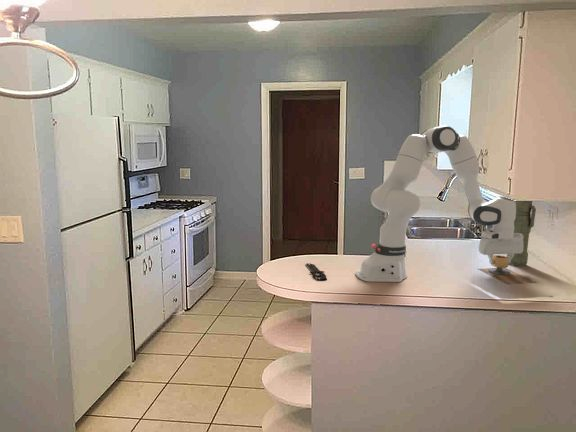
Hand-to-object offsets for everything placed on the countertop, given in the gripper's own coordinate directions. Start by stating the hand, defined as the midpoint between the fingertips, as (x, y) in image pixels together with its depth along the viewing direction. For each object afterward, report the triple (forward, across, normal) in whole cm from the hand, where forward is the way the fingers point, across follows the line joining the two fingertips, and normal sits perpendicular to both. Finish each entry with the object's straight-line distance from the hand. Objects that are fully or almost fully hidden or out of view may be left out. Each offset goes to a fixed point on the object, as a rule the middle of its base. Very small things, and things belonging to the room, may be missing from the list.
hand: (499, 263), depth 216 cm
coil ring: (+1, 0, 0) cm, 1 cm away
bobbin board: (+6, 0, +5) cm, 8 cm away
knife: (+6, +81, -18) cm, 83 cm away
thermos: (+6, -17, -11) cm, 21 cm away
